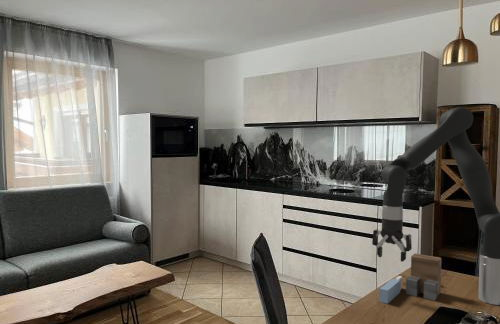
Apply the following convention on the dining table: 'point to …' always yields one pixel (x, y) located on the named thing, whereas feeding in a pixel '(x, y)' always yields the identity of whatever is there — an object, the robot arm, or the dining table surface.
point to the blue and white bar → (390, 290)
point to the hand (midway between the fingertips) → (391, 258)
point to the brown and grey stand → (424, 276)
